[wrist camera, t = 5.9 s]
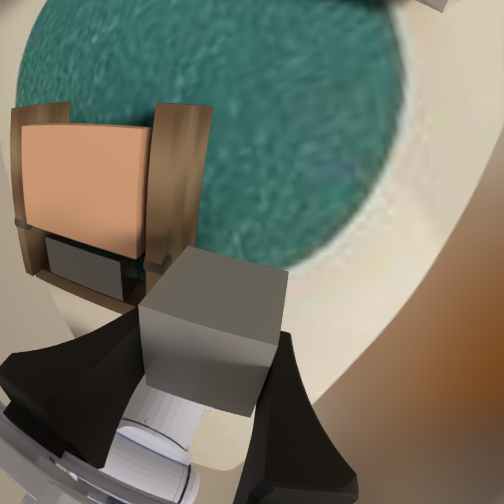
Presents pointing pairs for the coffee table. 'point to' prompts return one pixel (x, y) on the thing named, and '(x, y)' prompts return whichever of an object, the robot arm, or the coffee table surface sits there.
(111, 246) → the trapdoor
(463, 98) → the coffee table surface
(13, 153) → the frame
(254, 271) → the stone
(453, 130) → the coffee table surface
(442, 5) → the die
